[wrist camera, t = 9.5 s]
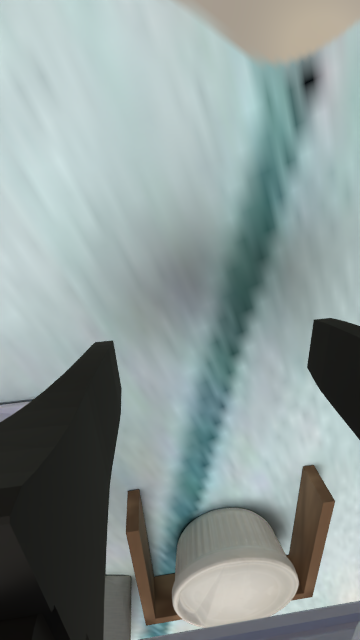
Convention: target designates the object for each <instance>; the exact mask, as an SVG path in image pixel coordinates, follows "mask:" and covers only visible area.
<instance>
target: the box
mask: <svg viewBox="0 0 360 640" xmlns="http://www.w3.org/2000/svg"><path fill="white" fill-rule="evenodd" d="M334 503H335V500H334V499H333V497H332V495H331V494H330V492H329V490H328V489H327V487H326V485H325V483H324V482H323V480H322V478H321V477H320V475H319V473H318V472H317V470H316V468H315V467H314V465H312V466H304V467H303V471H302V477H301V484H300V490H299V496H298V502H297V509H296V515H295V521H294V528H293V534H292V540H291V546H290V553H289V555H286V557H287V558H288V559H289V560H290V561H291V563H292V564H293V566H294V568H295V570H296V573H297V576H298V580H299V586H298V589H297V592H296V594H295V596H294V597H293V599H292V600H297V599H303V598H308V597H312V596H313V592H314V587H315V583H316V579H317V575H318V571H319V566H320V562H321V558H322V554H323V550H324V545H325V541H326V537H327V533H328V529H329V524H330V520H331V516H332V512H333V508H334ZM126 535H127V540H128V544H129V549H130V554H131V558H132V563H133V567H134V572H135V577H136V581H137V586H138V590H139V595H140V600H141V604H142V609H143V613H144V618H145V622H146V625H152V624H158V623H164V622H169V621H175V620H181V619H182V618H180V617H179V615H178V614H177V613H176V612H175V610H174V607H173V602H172V588H173V584H174V582H175V573H174V574H168V575H162V576H156V577H154V573H153V567H152V561H151V555H150V550H149V544H148V538H147V532H146V526H145V520H144V515H143V509H142V503H141V497H140V491H139V490H133V491H128V498H127V519H126Z"/></svg>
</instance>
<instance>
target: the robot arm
mask: <svg viewBox="0 0 360 640" xmlns="http://www.w3.org/2000/svg"><path fill="white" fill-rule="evenodd" d="M307 368H308V370H309V372H310V373H311V375H312V377H313V379H314V381H315V382H316V384H317V386H318V387H319V389H320V390H321V392H322V393H323V394H324V396H325V397H326V398H327V400H328V401H329V402H330V403H331V405H332V406H333V407H334V408H335V410H336V411H337V412H338V413H339V415H340V416H341V417H342V418H343V420H344V421H345V422H346V423H347V425H348V426H349V427H350V428H351V430H352V431H353V432H354V433H355V435H356V436H357V437H358V438H359V440H360V326H358V325H355V324H352V323H348V322H345V321H341V320H337V319H332V318H327V319H317V320H314V323H313V330H312V337H311V344H310V352H309V359H308V366H307ZM120 415H121V384H120V378H119V372H118V366H117V360H116V355H115V349H114V343H113V341H104V342H95V343H94V344H93V345H92V346H91V347H90V348H89V349H88V350H87V351H86V352H85V353H84V354H83V355H82V356H81V357H80V358H79V359H78V360H77V361H76V362H75V363H74V364H73V365H72V366H71V367H70V368H69V369H68V370H67V371H66V372H65V373H64V374H63V375H62V376H61V377H60V378H58V379H57V380H56V381H55V382H54V383H53V384H52V385H51V386H50V387H48V388H47V389H46V390H45V391H44V392H42V393H41V394H40V395H39V396H37V397H36V398H35V399H34V400H32V401H29V402H21V403H12V404H4V405H0V640H103V635H104V596H105V568H106V544H107V523H108V505H109V489H110V479H111V472H112V465H113V459H114V453H115V447H116V441H117V435H118V428H119V422H120ZM140 640H360V601H356V602H350V603H345V604H339V605H333V606H327V607H322V608H316V609H310V610H305V611H299V612H293V613H288V614H282V615H276V616H271V617H265V618H259V619H253V620H248V621H242V622H236V623H231V624H225V625H219V626H214V627H208V628H202V629H197V630H191V631H185V632H179V633H174V634H168V635H162V636H157V637H151V638H145V639H140Z"/></svg>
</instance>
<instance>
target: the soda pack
mask: <svg viewBox="0 0 360 640" xmlns="http://www.w3.org/2000/svg"><path fill="white" fill-rule="evenodd" d="M103 640H131V577H130V576H105V596H104V635H103Z"/></svg>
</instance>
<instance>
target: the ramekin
mask: <svg viewBox="0 0 360 640" xmlns="http://www.w3.org/2000/svg"><path fill="white" fill-rule="evenodd" d="M298 586H299V580H298V576H297V573H296V570H295V568H294V566H293V564H292V563H291V561H290V560H289V559H288V558H287V557H286V555H285V553H284V551H283V549H282V547H281V545H280V543H279V541H278V539H277V537H276V536H275V534H274V532H273V530H272V528H271V527H270V525H269V523H268V522H267V521H266V520H265V519H264V518H262V517H261V516H259V515H258V514H256V513H254V512H252V511H250V510H247V509H243V508H222V509H217V510H214V511H210V512H208V513H205V514H203V515H201V516H199V517H198V518H196V519H195V520H193V521H192V522H191V523H190V524H189V525H188V526H187V527H186V528H185V530H184V531H183V533H182V534H181V536H180V538H179V541H178V544H177V554H176V568H175V582H174V584H173V588H172V602H173V607H174V610H175V612H176V613H177V614H178V615H179V617H180V618H182V619H183V620H184V621H186V622H188V623H190V624H192V625H195V626H199V627H203V628H208V627H214V626H219V625H225V624H231V623H236V622H242V621H248V620H253V619H259V618H265V617H269V616H271V615H273V614H275V613H277V612H278V611H280V610H281V609H283V608H284V607H285V606H286V605H287V604H288V603H289V602H290V601H291V600H292V599H293V597H294V596H295V594H296V592H297V589H298Z"/></svg>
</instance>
